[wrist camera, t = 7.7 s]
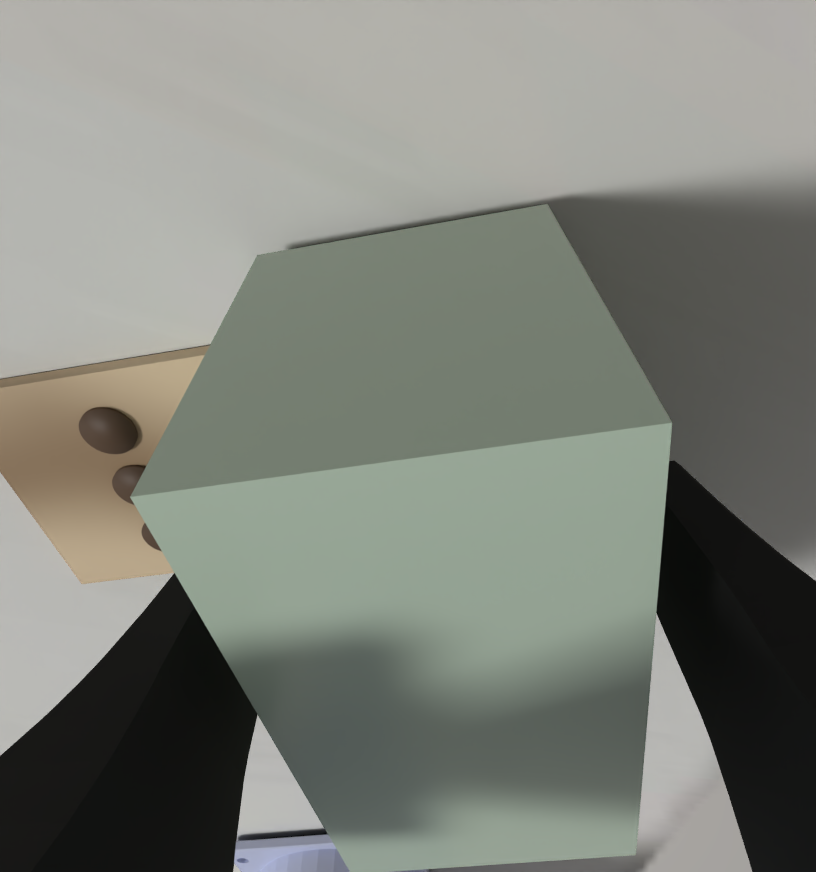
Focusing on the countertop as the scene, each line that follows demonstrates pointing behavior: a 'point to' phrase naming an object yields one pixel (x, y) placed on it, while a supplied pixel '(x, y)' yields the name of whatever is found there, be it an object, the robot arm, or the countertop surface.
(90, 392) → the pad three
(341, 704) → the pale green block
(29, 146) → the countertop surface
